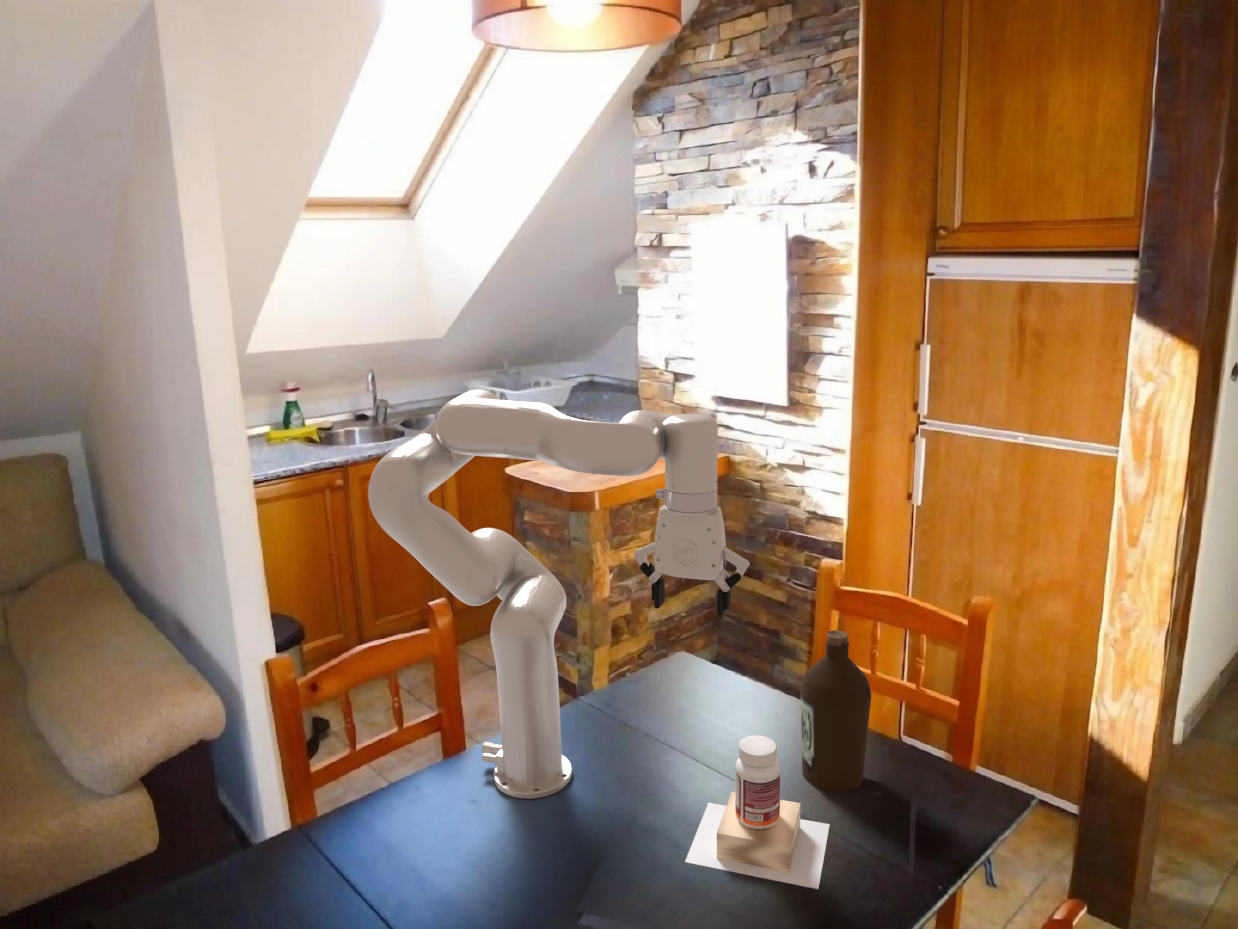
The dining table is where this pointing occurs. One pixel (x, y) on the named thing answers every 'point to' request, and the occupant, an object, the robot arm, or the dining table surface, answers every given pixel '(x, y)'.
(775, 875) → the white paper sheet
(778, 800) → the pill bottle
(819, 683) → the olive oil
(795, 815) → the birch riser
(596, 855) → the dining table surface
